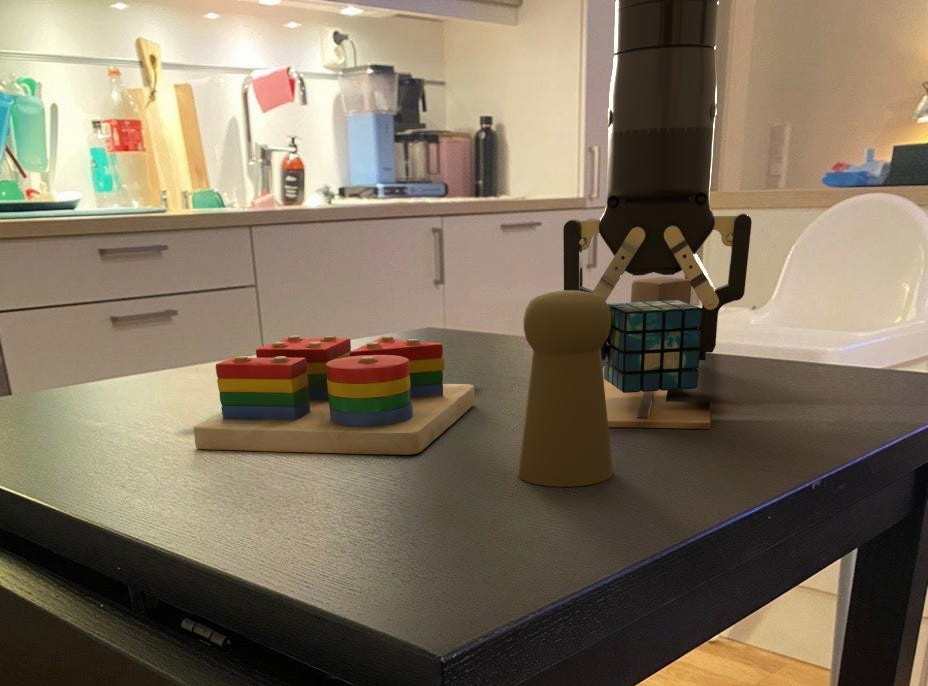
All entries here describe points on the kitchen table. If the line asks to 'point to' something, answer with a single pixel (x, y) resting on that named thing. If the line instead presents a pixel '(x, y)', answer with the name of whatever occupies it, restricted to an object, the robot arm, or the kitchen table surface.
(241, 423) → the shape sorter
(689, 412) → the tan wooden flat board
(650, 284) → the wooden block
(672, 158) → the robot arm
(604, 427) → the pepper shaker
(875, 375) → the kitchen table surface
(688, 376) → the puzzle
